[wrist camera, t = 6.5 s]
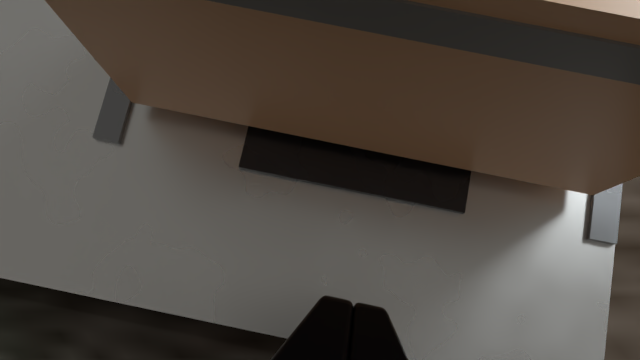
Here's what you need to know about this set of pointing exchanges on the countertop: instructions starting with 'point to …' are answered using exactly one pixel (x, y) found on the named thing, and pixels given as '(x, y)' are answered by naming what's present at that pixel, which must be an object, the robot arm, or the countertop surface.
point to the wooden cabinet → (395, 76)
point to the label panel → (281, 219)
